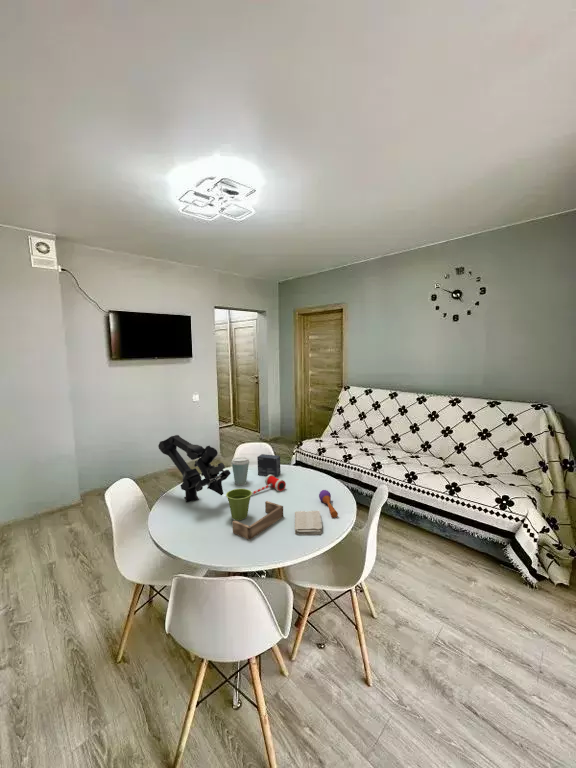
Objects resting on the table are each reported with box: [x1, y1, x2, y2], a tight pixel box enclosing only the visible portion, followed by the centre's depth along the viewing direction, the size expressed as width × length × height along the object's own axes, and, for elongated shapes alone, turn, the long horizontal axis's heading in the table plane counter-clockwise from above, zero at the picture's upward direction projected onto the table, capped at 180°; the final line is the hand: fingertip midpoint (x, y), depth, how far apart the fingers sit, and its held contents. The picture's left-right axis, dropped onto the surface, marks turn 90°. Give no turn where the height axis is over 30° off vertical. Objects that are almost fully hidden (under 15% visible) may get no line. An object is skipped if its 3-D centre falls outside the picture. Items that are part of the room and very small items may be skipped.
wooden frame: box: [231, 500, 284, 541], centre depth 143 cm, size 10×23×5 cm, turn 145°
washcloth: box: [294, 510, 323, 536], centre depth 143 cm, size 12×18×3 cm, turn 0°
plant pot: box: [225, 488, 253, 521], centre depth 150 cm, size 12×12×11 cm
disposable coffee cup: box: [231, 456, 250, 486], centre depth 190 cm, size 11×11×15 cm
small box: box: [256, 453, 281, 478], centre depth 203 cm, size 13×7×12 cm, turn 69°
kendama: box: [318, 489, 339, 519], centre depth 157 cm, size 6×6×20 cm
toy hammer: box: [251, 475, 287, 496], centre depth 178 cm, size 23×12×6 cm, turn 128°
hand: (222, 494), depth 156 cm, fingers closed
